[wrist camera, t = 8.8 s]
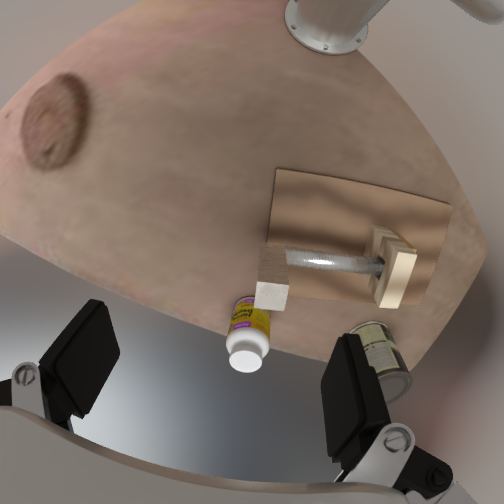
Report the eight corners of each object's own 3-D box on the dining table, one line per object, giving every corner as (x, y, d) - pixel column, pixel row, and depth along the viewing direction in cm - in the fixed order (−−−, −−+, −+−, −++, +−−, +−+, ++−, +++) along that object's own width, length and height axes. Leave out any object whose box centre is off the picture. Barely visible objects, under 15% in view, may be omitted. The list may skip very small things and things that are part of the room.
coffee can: (398, 324, 48) (423, 373, 35) (374, 360, 52) (390, 409, 39) (357, 316, 48) (377, 370, 35) (334, 354, 52) (345, 408, 39)
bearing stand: (276, 167, 38) (279, 180, 27) (448, 203, 38) (490, 226, 27) (260, 287, 46) (257, 333, 35) (416, 301, 46) (442, 340, 35)
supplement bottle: (256, 288, 46) (251, 338, 35) (277, 314, 48) (278, 366, 37) (225, 306, 48) (213, 356, 37) (247, 330, 50) (241, 381, 39)
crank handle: (258, 259, 37) (253, 307, 26) (261, 238, 35) (257, 281, 25) (381, 273, 36) (412, 319, 26) (387, 254, 35) (422, 297, 25)
